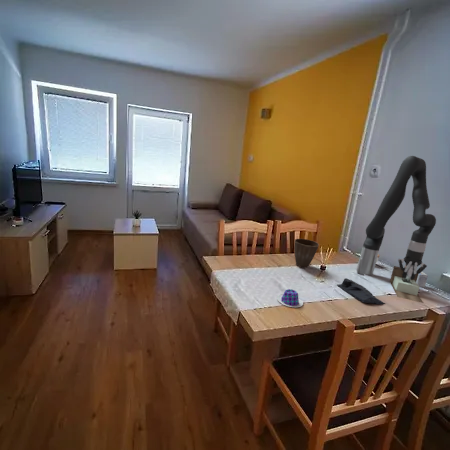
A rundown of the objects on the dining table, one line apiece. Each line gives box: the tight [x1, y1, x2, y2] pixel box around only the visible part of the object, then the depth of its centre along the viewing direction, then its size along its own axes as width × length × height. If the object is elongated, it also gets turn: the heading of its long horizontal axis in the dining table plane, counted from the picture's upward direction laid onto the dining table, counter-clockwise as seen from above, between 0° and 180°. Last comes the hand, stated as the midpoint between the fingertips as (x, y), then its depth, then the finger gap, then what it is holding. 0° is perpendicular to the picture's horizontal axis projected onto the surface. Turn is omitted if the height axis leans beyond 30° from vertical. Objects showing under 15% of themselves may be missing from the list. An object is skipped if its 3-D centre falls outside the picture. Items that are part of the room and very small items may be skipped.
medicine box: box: [416, 271, 429, 288], centre depth 162 cm, size 8×4×9 cm, turn 168°
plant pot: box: [293, 238, 320, 269], centre depth 172 cm, size 15×15×16 cm
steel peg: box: [403, 265, 414, 283], centre depth 150 cm, size 3×3×12 cm
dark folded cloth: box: [337, 278, 385, 305], centre depth 141 cm, size 15×22×5 cm
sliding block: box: [393, 276, 420, 295], centre depth 152 cm, size 10×10×5 cm
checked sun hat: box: [276, 288, 304, 308], centre depth 125 cm, size 12×12×5 cm
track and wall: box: [389, 265, 425, 304], centre depth 148 cm, size 12×22×11 cm, turn 158°
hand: (407, 278), depth 151 cm, fingers closed on steel peg, 3 cm apart
